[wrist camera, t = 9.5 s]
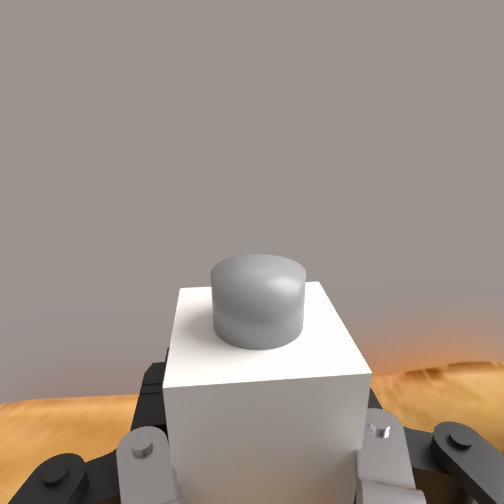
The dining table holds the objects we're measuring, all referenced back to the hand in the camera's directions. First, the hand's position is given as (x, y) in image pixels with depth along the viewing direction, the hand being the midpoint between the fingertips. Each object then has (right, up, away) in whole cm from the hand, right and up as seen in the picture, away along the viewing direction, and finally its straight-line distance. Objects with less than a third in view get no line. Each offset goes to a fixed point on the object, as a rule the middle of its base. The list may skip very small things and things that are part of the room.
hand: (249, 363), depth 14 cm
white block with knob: (0, -8, 0) cm, 8 cm away
